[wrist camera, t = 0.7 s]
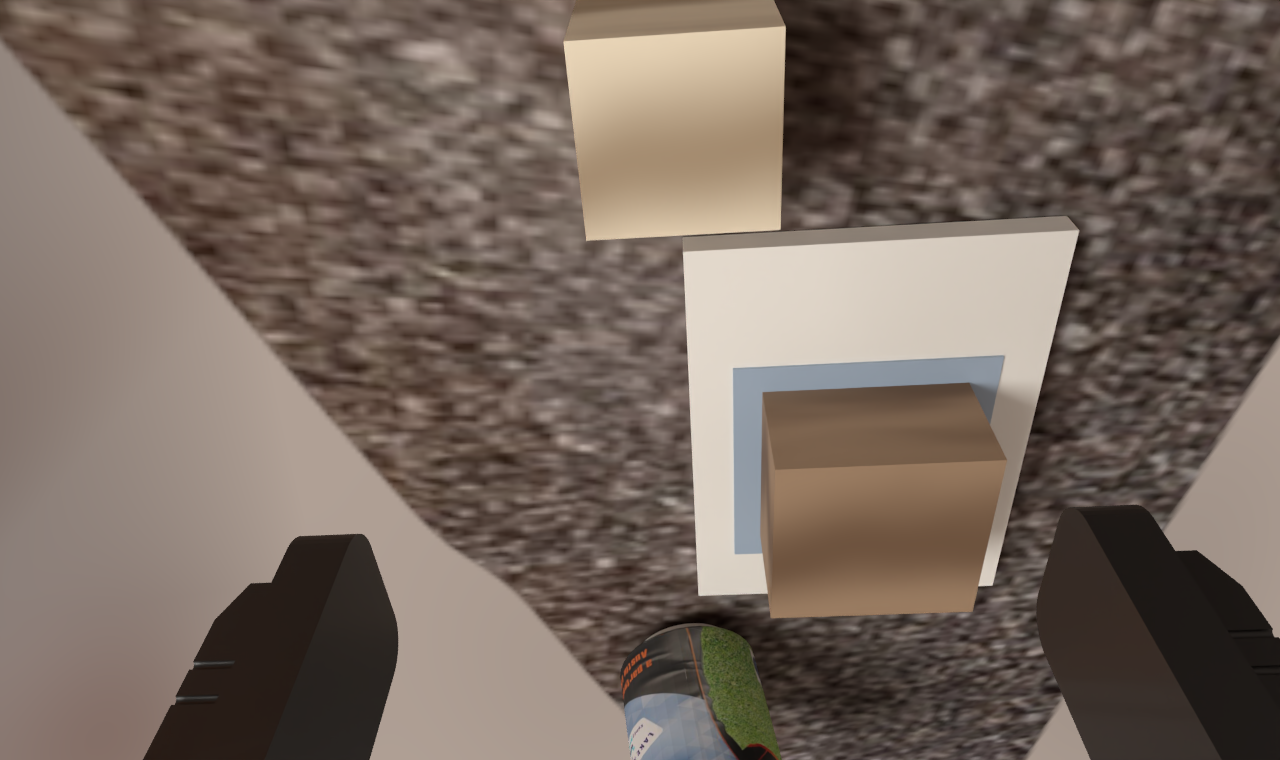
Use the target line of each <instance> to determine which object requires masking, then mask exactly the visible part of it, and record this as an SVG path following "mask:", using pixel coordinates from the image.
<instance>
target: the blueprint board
mask: <svg viewBox="0 0 1280 760" xmlns="http://www.w3.org/2000/svg"><path fill="white" fill-rule="evenodd" d="M1078 233H1079V229H1078V228H1077V227H1076V226H1075V225H1074V223H1073V222H1072V221H1071V220H1070V219H1069V218H1068V217H1067V216H1054V217H1036V218H1018V219H1000V220H983V221H965V222H947V223H929V224H911V225H893V226H875V227H857V228H839V229H821V230H803V231H785V232H767V233H749V234H731V235H713V236H695V237H682V239H683V261H684V283H685V306H686V328H687V350H688V372H689V395H690V417H691V439H692V462H693V484H694V506H695V528H696V551H697V573H698V593H699V596H704V595H733V594H762V593H768V592H767V584H766V576H765V569H764V561H763V554H762V546H761V538H760V513H761V448H762V392H776V391H797V390H819V389H841V388H862V387H884V386H905V385H927V384H949V383H970V385H971V387H972V389H973V391H974V393H975V395H976V397H977V399H978V401H979V403H980V406H981V408H982V410H983V412H984V414H985V416H986V418H987V420H988V422H989V424H990V426H991V428H992V430H993V432H994V434H995V436H996V438H997V440H998V442H999V444H1000V446H1001V448H1002V450H1003V452H1004V455H1005V457H1006V459H1007V463H1006V468H1005V472H1004V476H1003V481H1002V485H1001V489H1000V494H999V498H998V502H997V507H996V511H995V515H994V520H993V524H992V528H991V533H990V537H989V541H988V546H987V550H986V554H985V559H984V563H983V567H982V572H981V576H980V580H979V585H978V586H992V585H993V581H994V577H995V573H996V569H997V565H998V561H999V557H1000V552H1001V548H1002V544H1003V540H1004V536H1005V532H1006V528H1007V524H1008V520H1009V516H1010V512H1011V507H1012V503H1013V499H1014V495H1015V491H1016V487H1017V483H1018V479H1019V475H1020V471H1021V467H1022V463H1023V458H1024V454H1025V450H1026V446H1027V442H1028V438H1029V434H1030V430H1031V426H1032V422H1033V418H1034V413H1035V409H1036V405H1037V401H1038V397H1039V393H1040V389H1041V385H1042V381H1043V377H1044V373H1045V368H1046V364H1047V360H1048V356H1049V352H1050V348H1051V344H1052V340H1053V336H1054V332H1055V328H1056V323H1057V319H1058V315H1059V311H1060V307H1061V303H1062V299H1063V295H1064V291H1065V287H1066V283H1067V278H1068V274H1069V270H1070V266H1071V262H1072V258H1073V254H1074V250H1075V246H1076V242H1077V238H1078Z"/></svg>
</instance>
